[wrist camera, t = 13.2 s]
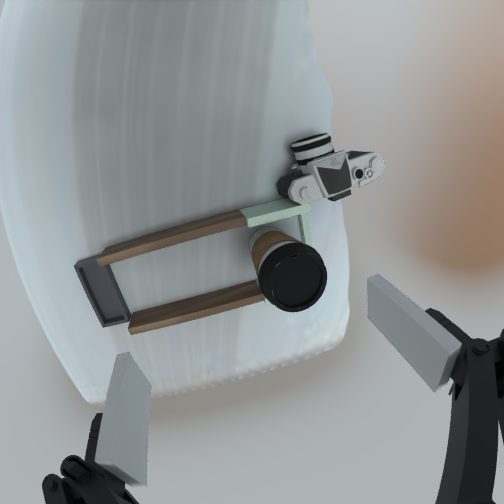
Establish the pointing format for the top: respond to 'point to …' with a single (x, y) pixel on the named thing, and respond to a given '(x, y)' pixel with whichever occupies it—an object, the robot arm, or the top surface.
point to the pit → (102, 292)
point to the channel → (194, 305)
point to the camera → (326, 171)
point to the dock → (279, 217)
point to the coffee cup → (287, 270)
